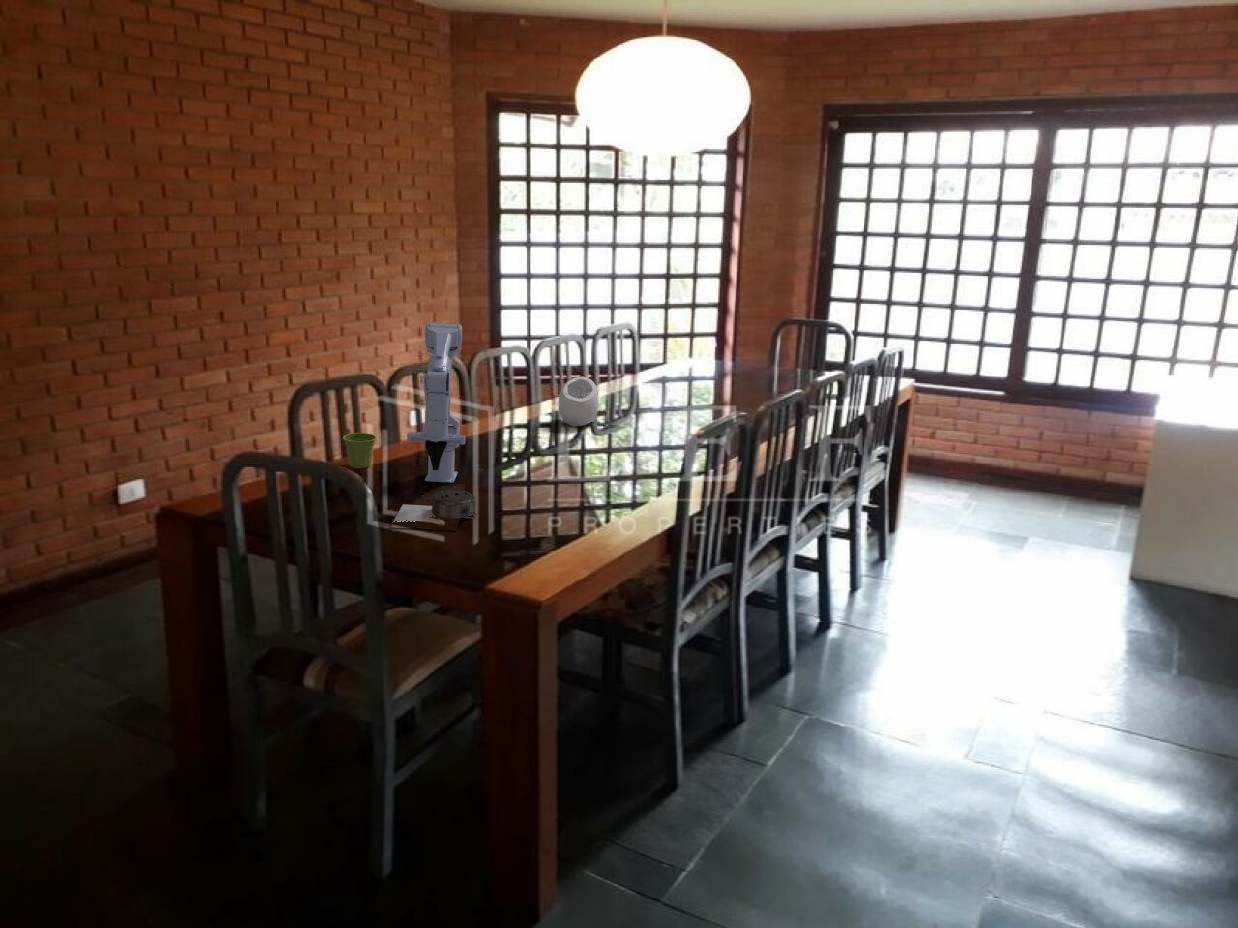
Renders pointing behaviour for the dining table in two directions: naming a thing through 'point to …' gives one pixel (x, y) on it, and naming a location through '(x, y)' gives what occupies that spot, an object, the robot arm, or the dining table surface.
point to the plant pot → (359, 449)
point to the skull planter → (578, 401)
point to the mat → (414, 513)
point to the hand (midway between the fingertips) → (435, 469)
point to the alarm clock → (453, 504)
